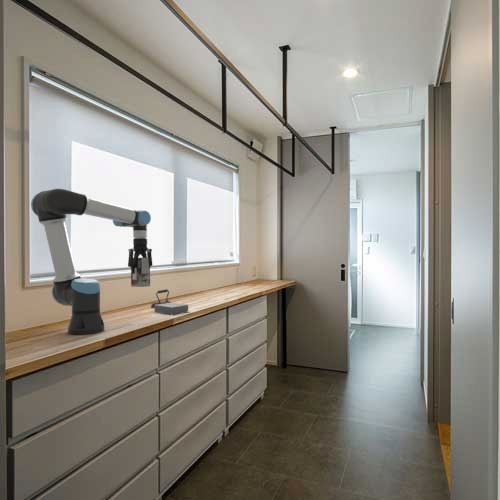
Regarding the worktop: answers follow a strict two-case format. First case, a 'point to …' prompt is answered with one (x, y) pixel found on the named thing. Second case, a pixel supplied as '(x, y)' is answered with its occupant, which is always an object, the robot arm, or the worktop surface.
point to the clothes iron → (159, 300)
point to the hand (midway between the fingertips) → (140, 279)
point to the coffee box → (142, 273)
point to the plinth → (171, 308)
